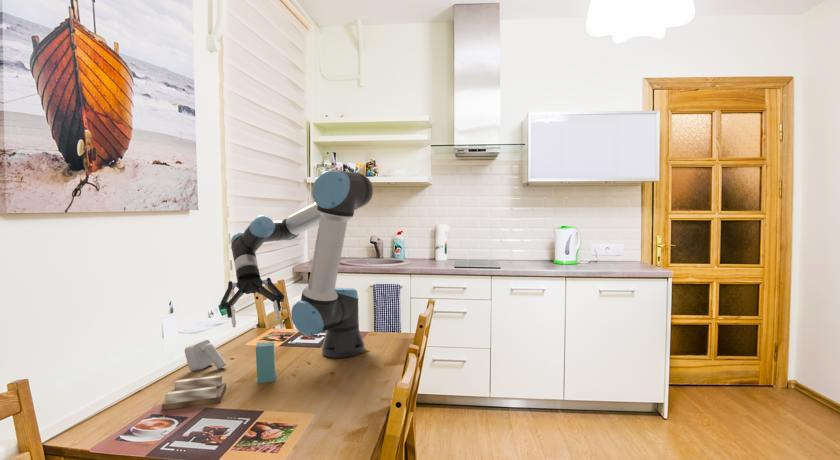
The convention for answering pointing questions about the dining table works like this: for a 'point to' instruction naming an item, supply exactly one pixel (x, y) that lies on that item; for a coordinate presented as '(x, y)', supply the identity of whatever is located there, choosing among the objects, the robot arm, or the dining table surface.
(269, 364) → the teal upright prism
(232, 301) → the robot arm
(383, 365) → the dining table surface
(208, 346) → the wall hook
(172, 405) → the display stand
